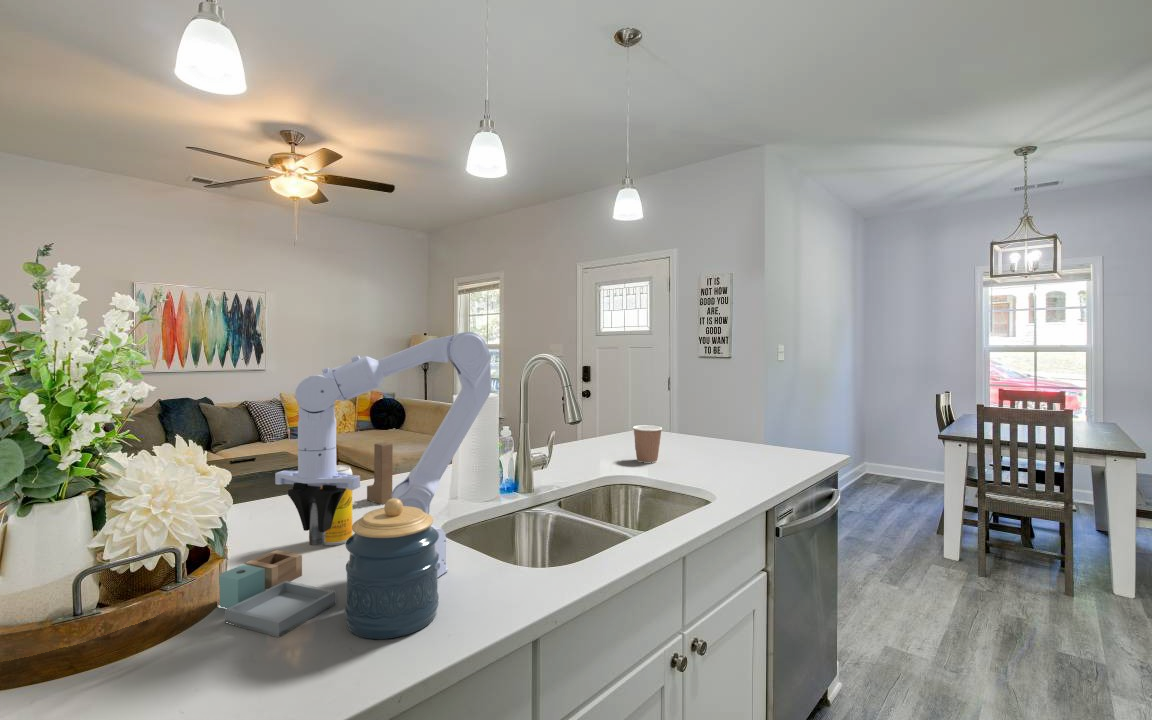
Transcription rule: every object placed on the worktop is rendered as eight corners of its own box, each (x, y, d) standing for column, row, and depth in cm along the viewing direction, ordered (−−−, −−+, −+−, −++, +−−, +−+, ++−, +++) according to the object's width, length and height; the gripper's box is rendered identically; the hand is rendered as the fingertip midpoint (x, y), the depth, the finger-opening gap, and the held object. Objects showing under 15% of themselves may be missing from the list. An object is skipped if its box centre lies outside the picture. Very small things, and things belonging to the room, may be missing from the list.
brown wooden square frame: (301, 575, 93) (302, 554, 93) (271, 590, 87) (271, 568, 87) (276, 570, 95) (276, 550, 95) (244, 584, 90) (244, 562, 89)
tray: (335, 603, 83) (335, 591, 83) (278, 637, 73) (278, 622, 73) (285, 592, 87) (285, 580, 87) (225, 623, 77) (225, 609, 77)
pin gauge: (328, 541, 90) (328, 500, 90) (316, 546, 88) (316, 504, 87) (317, 539, 91) (317, 498, 90) (305, 544, 88) (305, 502, 88)
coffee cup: (646, 457, 197) (646, 424, 197) (667, 461, 189) (668, 427, 189) (626, 460, 191) (626, 426, 190) (647, 465, 183) (648, 430, 183)
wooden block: (392, 502, 137) (393, 443, 137) (381, 504, 134) (381, 445, 134) (378, 497, 141) (378, 440, 141) (366, 500, 138) (366, 442, 138)
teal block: (264, 600, 84) (264, 568, 84) (238, 613, 80) (237, 579, 80) (243, 595, 86) (243, 563, 86) (216, 607, 82) (216, 575, 81)
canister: (331, 616, 79) (331, 497, 79) (412, 589, 88) (413, 482, 88) (368, 653, 70) (369, 518, 70) (455, 618, 79) (456, 499, 79)
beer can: (316, 547, 106) (316, 472, 105) (322, 537, 112) (322, 465, 111) (350, 545, 107) (350, 470, 107) (354, 534, 113) (354, 463, 113)
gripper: (370, 445, 91) (370, 525, 92) (296, 441, 94) (296, 518, 95) (344, 453, 84) (344, 539, 85) (265, 449, 87) (265, 531, 88)
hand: (317, 529), depth 89 cm, fingers closed on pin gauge, 2 cm apart
